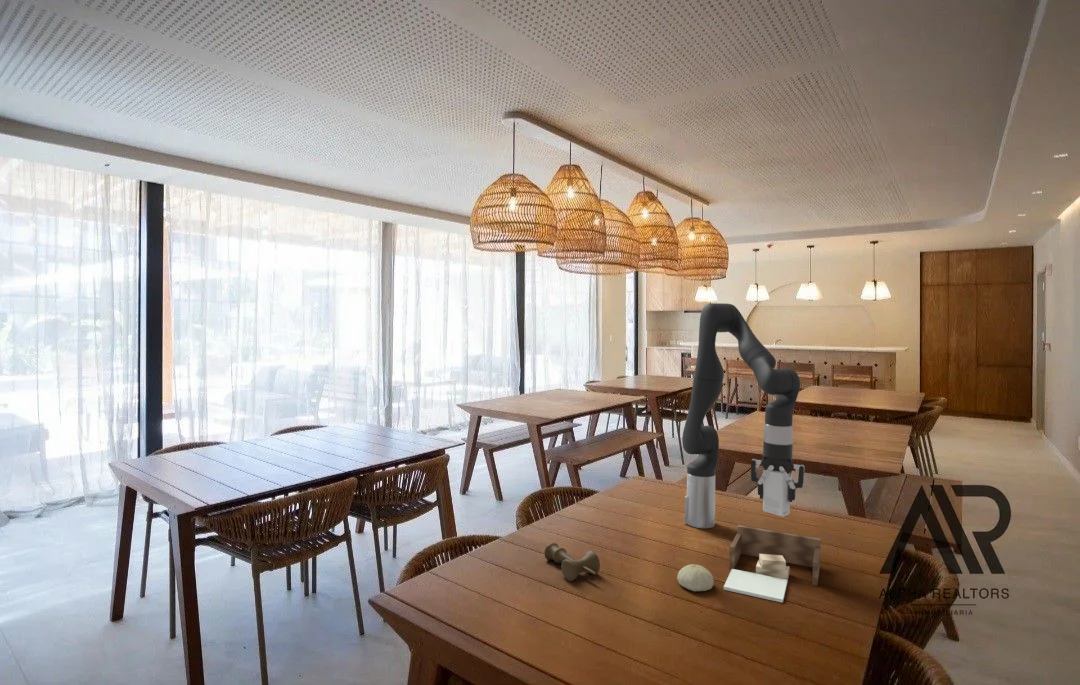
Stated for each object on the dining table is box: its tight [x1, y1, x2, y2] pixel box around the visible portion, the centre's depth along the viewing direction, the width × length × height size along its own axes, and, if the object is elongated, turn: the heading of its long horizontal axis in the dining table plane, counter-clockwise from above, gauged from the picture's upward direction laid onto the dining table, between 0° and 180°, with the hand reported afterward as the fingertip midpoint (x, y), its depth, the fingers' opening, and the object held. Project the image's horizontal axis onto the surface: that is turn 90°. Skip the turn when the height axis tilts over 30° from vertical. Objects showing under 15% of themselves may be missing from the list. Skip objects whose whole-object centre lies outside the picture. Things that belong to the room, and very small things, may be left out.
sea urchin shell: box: [676, 563, 715, 592], centre depth 147 cm, size 9×8×8 cm
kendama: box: [543, 542, 601, 582], centre depth 155 cm, size 6×10×20 cm
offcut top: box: [758, 554, 787, 571], centre depth 154 cm, size 6×4×2 cm, turn 80°
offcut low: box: [755, 560, 790, 581], centre depth 154 cm, size 8×4×2 cm, turn 61°
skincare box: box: [762, 468, 791, 517], centre depth 158 cm, size 6×4×12 cm
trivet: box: [723, 568, 789, 604], centre depth 147 cm, size 14×12×1 cm
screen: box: [729, 524, 821, 587], centre depth 158 cm, size 22×13×8 cm, turn 62°
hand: (776, 499), depth 158 cm, fingers closed on skincare box, 7 cm apart
